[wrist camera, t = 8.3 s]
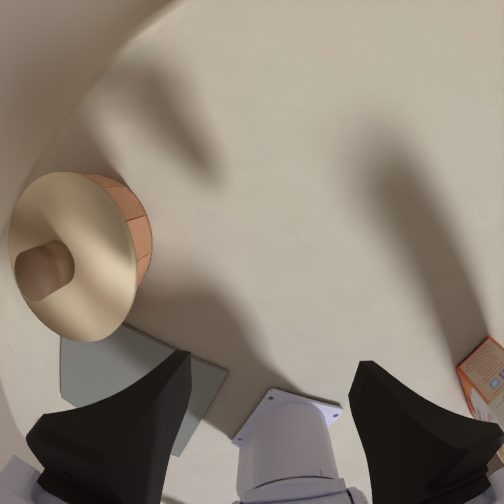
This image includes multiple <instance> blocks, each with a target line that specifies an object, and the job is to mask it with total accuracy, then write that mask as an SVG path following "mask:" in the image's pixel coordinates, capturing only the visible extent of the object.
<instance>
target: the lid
mask: <svg viewBox="0 0 504 504" xmlns="http://www.w3.org/2000/svg"><path fill="white" fill-rule="evenodd" d="M9 254H10V261H11V266H12V270H13V274H14V277H15V280H16V283H17V286H18V288H19V290H20V292H21V294H22V296H23V298H24V300H25V301H26V303H27V305H28V306H29V308H30V309H31V310H32V312H33V313H34V314H35V315H36V316H37V318H38V319H39V320H40V321H41V322H42V323H43V324H44V325H46V326H47V327H48V328H49V329H51V330H52V331H53V332H55V333H57V334H58V335H60V336H62V337H64V338H67V339H70V340H73V341H77V342H94V341H98V340H101V339H104V338H106V337H107V336H109V335H111V334H112V333H113V332H114V331H115V330H116V329H117V328H118V327H119V326H120V325H121V324H122V322H123V321H124V320H125V319H126V317H127V316H128V314H129V312H130V310H131V308H132V305H133V303H134V300H135V296H136V291H137V283H138V263H137V255H136V249H135V245H134V241H133V238H132V235H131V232H130V229H129V226H128V224H127V222H126V220H125V217H124V215H123V214H122V212H121V210H120V209H119V207H118V205H117V204H116V202H115V201H114V200H113V198H112V197H111V196H110V195H109V194H108V193H107V192H106V191H105V190H104V189H103V188H102V187H101V186H100V185H99V184H97V183H96V182H95V181H93V180H92V179H90V178H88V177H86V176H83V175H81V174H78V173H72V172H54V173H49V174H46V175H43V176H41V177H39V178H38V179H36V180H35V181H34V182H32V183H31V184H30V185H29V186H28V187H27V188H26V189H25V191H24V192H23V193H22V195H21V196H20V198H19V200H18V202H17V204H16V206H15V209H14V212H13V215H12V219H11V224H10V230H9Z"/></svg>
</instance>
